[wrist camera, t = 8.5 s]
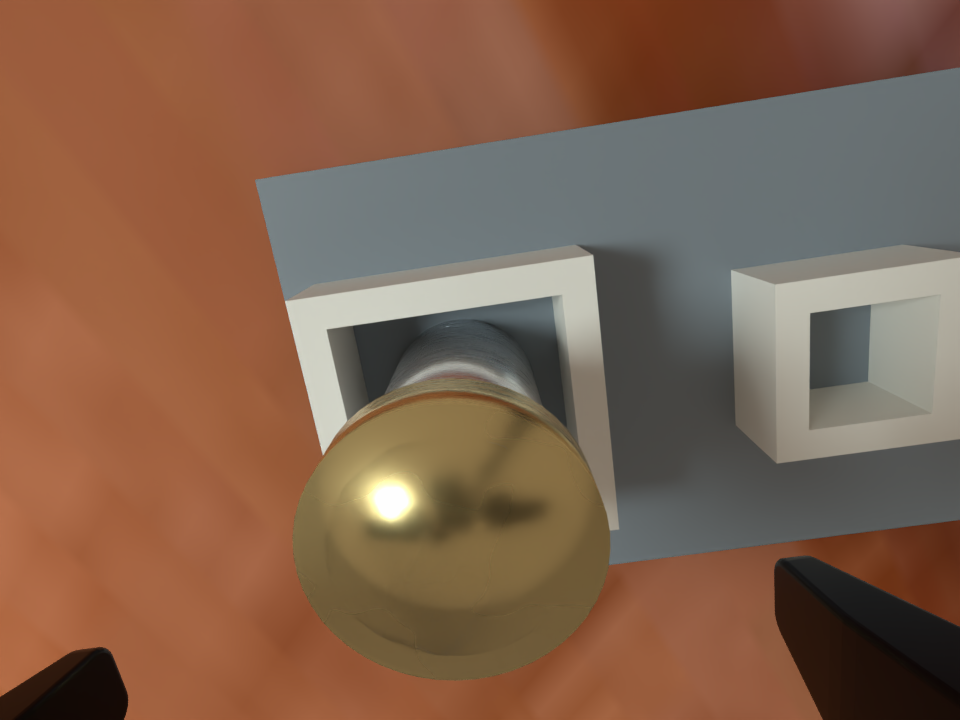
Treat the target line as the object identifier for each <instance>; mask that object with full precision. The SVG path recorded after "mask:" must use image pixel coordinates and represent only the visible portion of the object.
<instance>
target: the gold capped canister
mask: <svg viewBox="0 0 960 720" xmlns="http://www.w3.org/2000/svg"><path fill="white" fill-rule="evenodd" d="M293 555H294V560H295V565H296V570H297V574H298V577H299V580H300V583H301V585H302V588H303V591H304V593H305V594H306V596H307V598H308V600H309V602H310V604H311V606H312V607H313V609H314V610H315V612H316V613H317V614H318V616H319V617H320V619H321V620H322V621H323V622H324V624H325V625H326V626H327V627H328V628H329V629H330V630H331V631H332V632H333V633H334V634H335V635H336V636H337V637H338V638H339V639H341V640H342V641H343V642H344V643H345V644H346V645H348V646H349V647H350V648H352V649H353V650H355V651H356V652H358V653H359V654H361V655H362V656H364V657H366V658H368V659H370V660H372V661H374V662H376V663H378V664H380V665H382V666H384V667H387V668H390V669H392V670H395V671H398V672H401V673H404V674H408V675H412V676H416V677H422V678H429V679H435V680H471V679H480V678H485V677H491V676H496V675H499V674H503V673H506V672H510V671H513V670H515V669H518V668H520V667H523V666H525V665H527V664H530V663H532V662H534V661H535V660H537V659H539V658H541V657H543V656H544V655H546V654H548V653H549V652H550V651H552V650H553V649H555V648H556V647H557V646H559V645H560V644H561V643H563V642H564V641H565V640H566V639H567V638H568V637H569V636H570V635H571V634H572V633H573V632H574V631H575V630H576V629H577V628H578V627H579V625H580V624H581V623H582V622H583V621H584V619H585V618H586V617H587V615H588V614H589V612H590V611H591V609H592V607H593V606H594V604H595V603H596V601H597V599H598V596H599V594H600V592H601V590H602V587H603V585H604V581H605V578H606V574H607V571H608V566H609V558H610V529H609V523H608V518H607V513H606V510H605V507H604V504H603V501H602V498H601V495H600V493H599V490H598V488H597V485H596V482H595V480H594V477H593V475H592V472H591V470H590V467H589V465H588V462H587V460H586V458H585V456H584V454H583V452H582V450H581V448H580V446H579V444H578V443H577V442H576V440H575V439H574V437H573V436H572V435H571V433H570V432H569V430H568V429H567V428H566V427H565V426H564V425H563V424H562V423H561V422H560V421H559V420H558V419H557V418H556V417H555V416H554V415H553V414H551V413H550V412H549V411H548V410H546V409H545V408H544V407H543V406H542V403H541V400H540V396H539V393H538V389H537V386H536V382H535V379H534V375H533V372H532V368H531V365H530V363H529V360H528V358H527V356H526V354H525V352H524V351H523V350H522V348H521V347H520V345H519V344H518V343H517V342H516V341H515V340H514V339H513V338H512V337H511V336H510V335H508V334H507V333H506V332H504V331H503V330H501V329H499V328H498V327H495V326H493V325H491V324H488V323H485V322H482V321H476V320H467V319H460V320H451V321H447V322H443V323H440V324H437V325H435V326H433V327H431V328H429V329H427V330H425V331H424V332H423V333H421V334H420V335H419V336H417V337H416V338H415V339H414V340H413V341H412V342H411V344H410V345H409V346H408V347H407V349H406V350H405V352H404V353H403V355H402V357H401V359H400V361H399V364H398V366H397V368H396V370H395V372H394V374H393V377H392V379H391V381H390V383H389V385H388V387H387V390H386V392H385V394H384V395H382V396H380V397H378V398H376V399H375V400H373V401H372V402H370V403H369V404H367V405H366V406H364V407H363V408H362V409H360V410H359V411H358V412H357V413H356V414H355V415H354V416H352V417H351V418H350V419H349V420H348V421H347V422H346V423H345V424H344V426H343V427H342V428H341V429H340V430H339V432H338V433H337V434H336V435H335V437H334V438H333V440H332V442H331V443H330V445H329V446H328V448H327V450H326V451H325V453H324V455H323V457H322V458H321V460H320V462H319V463H318V465H317V467H316V468H315V470H314V472H313V474H312V475H311V477H310V479H309V480H308V482H307V484H306V486H305V489H304V491H303V493H302V496H301V498H300V500H299V504H298V507H297V511H296V515H295V519H294V529H293Z"/></svg>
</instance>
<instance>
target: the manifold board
mask: <svg viewBox="0 0 960 720" xmlns="http://www.w3.org/2000/svg"><path fill="white" fill-rule="evenodd" d="M255 182H256V186H257V190H258V194H259V198H260V202H261V206H262V210H263V214H264V218H265V222H266V226H267V230H268V234H269V238H270V242H271V246H272V251H273V255H274V259H275V263H276V267H277V271H278V275H279V279H280V283H281V287H282V291H283V295H284V299H285V303H286V307H287V311H288V315H289V320H290V324H291V328H292V332H293V336H294V340H295V344H296V348H297V352H298V356H299V360H300V364H301V368H302V372H303V376H304V380H305V384H306V389H307V393H308V397H309V401H310V405H311V409H312V413H313V417H314V421H315V425H316V429H317V433H318V437H319V441H320V445H321V449H322V453H323V455H324V453H325V451H326V450H327V448H328V446H329V445H330V443H331V442H332V440H333V438H334V437H335V435H336V434H337V433H338V432H339V430H340V429H341V428H342V427H343V426H344V424H345V423H346V422H347V421H348V420H349V419H350V418H351V417H352V416H354V415H355V414H356V413H357V412H358V411H359V410H360V409H362V408H363V407H364V406H366V405H367V404H369V403H370V402H372V401H373V400H375V399H376V398H378V397H380V396H382V395H384V394H385V392H386V390H387V387H388V385H389V383H390V381H391V379H392V377H393V374H394V372H395V370H396V368H397V366H398V364H399V361H400V359H401V357H402V355H403V353H404V352H405V350H406V349H407V347H408V346H409V345H410V344H411V342H412V341H413V340H414V339H415V338H416V337H417V336H419V335H420V334H421V333H423V332H424V331H425V330H427V329H429V328H431V327H433V326H435V325H437V324H440V323H443V322H447V321H451V320H460V319H467V320H476V321H482V322H485V323H488V324H491V325H493V326H495V327H498V328H499V329H501V330H503V331H504V332H506V333H507V334H508V335H510V336H511V337H512V338H513V339H514V340H515V341H516V342H517V343H518V344H519V345H520V347H521V348H522V350H523V351H524V352H525V354H526V356H527V358H528V360H529V363H530V365H531V368H532V372H533V375H534V379H535V382H536V386H537V389H538V393H539V396H540V400H541V403H542V406H543V407H544V408H545V409H546V410H548V411H549V412H550V413H551V414H553V415H554V416H555V417H556V418H557V419H558V420H559V421H560V422H561V423H562V424H563V425H564V426H565V427H566V428H567V429H568V430H569V432H570V433H571V435H572V436H573V437H574V439H575V440H576V442H577V443H578V444H579V446H580V448H581V450H582V452H583V454H584V456H585V458H586V460H587V462H588V465H589V467H590V470H591V472H592V475H593V477H594V480H595V482H596V485H597V488H598V490H599V493H600V495H601V498H602V501H603V504H604V507H605V510H606V513H607V518H608V523H609V529H610V558H609V565H612V564H620V563H628V562H636V561H643V560H651V559H659V558H667V557H675V556H682V555H690V554H698V553H706V552H714V551H721V550H729V549H737V548H745V547H753V546H760V545H768V544H776V543H784V542H792V541H799V540H807V539H815V538H823V537H831V536H838V535H846V534H854V533H862V532H869V531H877V530H885V529H893V528H901V527H908V526H916V525H924V524H932V523H940V522H947V521H955V520H960V68H954V69H948V70H941V71H935V72H929V73H923V74H916V75H910V76H904V77H898V78H891V79H885V80H879V81H872V82H866V83H860V84H854V85H847V86H841V87H835V88H828V89H822V90H816V91H810V92H803V93H797V94H791V95H785V96H778V97H772V98H766V99H759V100H753V101H747V102H741V103H734V104H728V105H722V106H716V107H709V108H703V109H697V110H690V111H684V112H678V113H672V114H665V115H659V116H653V117H647V118H640V119H634V120H628V121H621V122H615V123H609V124H603V125H596V126H590V127H584V128H578V129H571V130H565V131H559V132H552V133H546V134H540V135H534V136H527V137H521V138H515V139H508V140H502V141H496V142H490V143H483V144H477V145H471V146H465V147H458V148H452V149H446V150H439V151H433V152H427V153H421V154H414V155H408V156H402V157H396V158H389V159H383V160H377V161H370V162H364V163H358V164H352V165H345V166H339V167H333V168H327V169H320V170H314V171H308V172H301V173H295V174H289V175H283V176H276V177H270V178H264V179H257V180H255Z"/></svg>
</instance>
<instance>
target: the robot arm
mask: <svg viewBox="0 0 960 720" xmlns="http://www.w3.org/2000/svg"><path fill="white" fill-rule="evenodd" d="M774 587H775V616H776V621H777V625H778V627H779V630H780V632H781V635H782V637H783V639H784V641H785V643H786V645H787V647H788V649H789V651H790V653H791V655H792V657H793V659H794V661H795V663H796V665H797V667H798V670H799V672H800V674H801V676H802V678H803V680H804V682H805V684H806V686H807V688H808V690H809V692H810V694H811V696H812V698H813V700H814V702H815V704H816V707H817V709H818V711H819V713H820V715H821V717H822V719H823V720H960V627H959V626H957V625H955V624H953V623H951V622H949V621H947V620H944V619H942V618H940V617H938V616H936V615H934V614H932V613H930V612H928V611H926V610H923V609H921V608H919V607H917V606H915V605H913V604H911V603H909V602H907V601H904V600H902V599H900V598H898V597H896V596H894V595H892V594H890V593H888V592H886V591H883V590H881V589H879V588H877V587H875V586H873V585H871V584H869V583H867V582H865V581H862V580H860V579H858V578H856V577H854V576H852V575H850V574H848V573H846V572H843V571H841V570H839V569H837V568H835V567H833V566H831V565H829V564H827V563H825V562H822V561H820V560H818V559H816V558H814V557H811V556H798V557H790V558H782V559H779V560H778V561H777V562H776V564H775V569H774ZM127 707H128V694H127V691H126V688H125V686H124V683H123V680H122V678H121V675H120V673H119V670H118V668H117V665H116V663H115V660H114V658H113V655H112V654H111V652H110V651H109V650H108V649H106V648H103V647H97V648H89V649H81V650H76V651H73V652H71V653H69V654H67V655H66V656H64V657H62V658H61V659H59V660H58V661H56V662H55V663H53V664H51V665H50V666H48V667H47V668H45V669H44V670H42V671H40V672H39V673H37V674H36V675H34V676H32V677H31V678H29V679H28V680H26V681H25V682H23V683H21V684H20V685H18V686H17V687H15V688H14V689H12V690H10V691H9V692H7V693H6V694H4V695H3V696H1V697H0V720H124V718H125V715H126V712H127Z"/></svg>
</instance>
